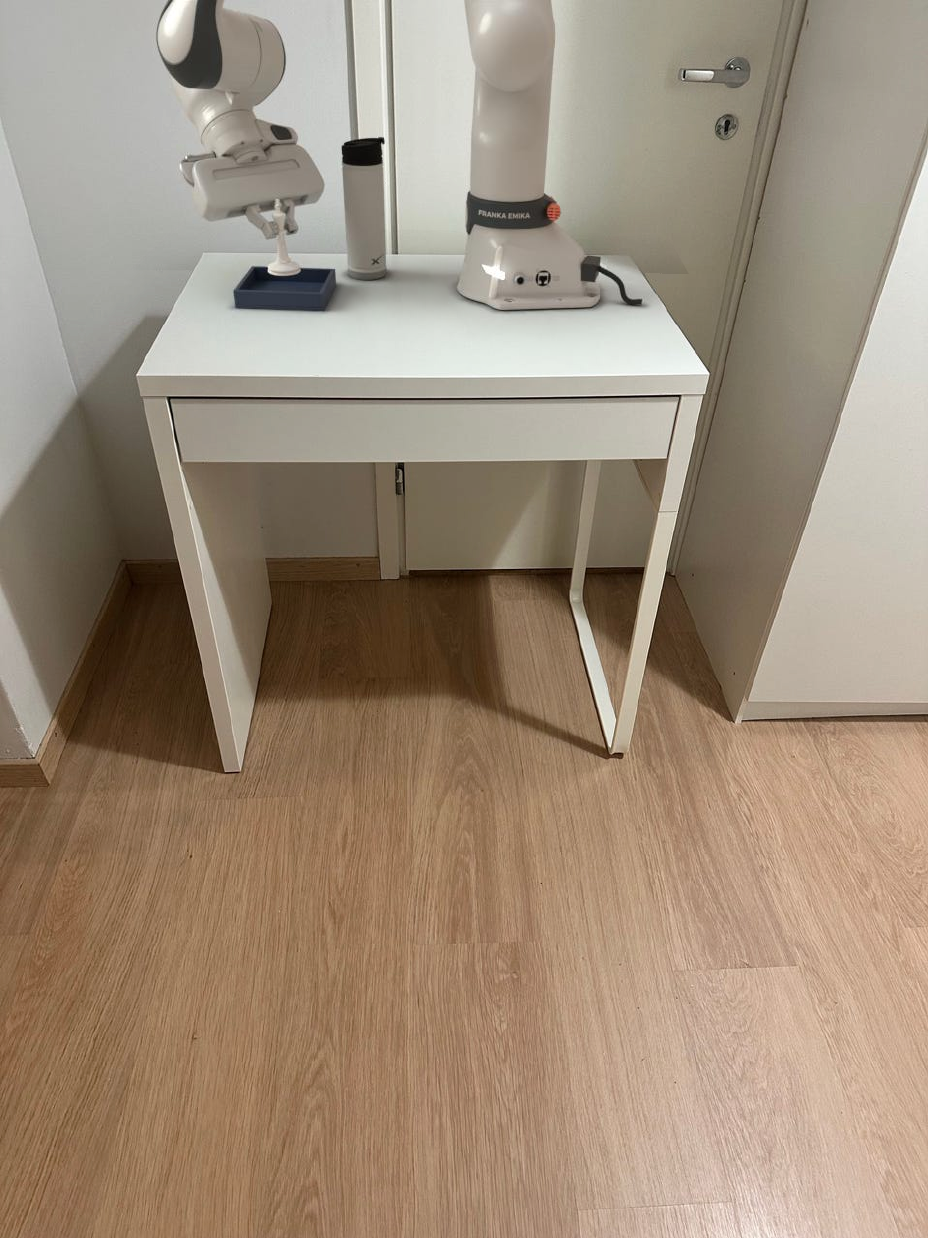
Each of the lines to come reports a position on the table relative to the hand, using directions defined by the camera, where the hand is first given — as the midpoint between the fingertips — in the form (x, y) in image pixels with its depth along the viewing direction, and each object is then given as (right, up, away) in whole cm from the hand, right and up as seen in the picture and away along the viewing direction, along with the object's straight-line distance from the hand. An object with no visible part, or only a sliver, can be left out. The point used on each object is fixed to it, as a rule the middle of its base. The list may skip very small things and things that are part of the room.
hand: (283, 234), depth 129 cm
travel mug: (+11, 0, +15) cm, 19 cm away
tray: (-1, -7, +6) cm, 9 cm away
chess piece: (-1, -4, +4) cm, 6 cm away
